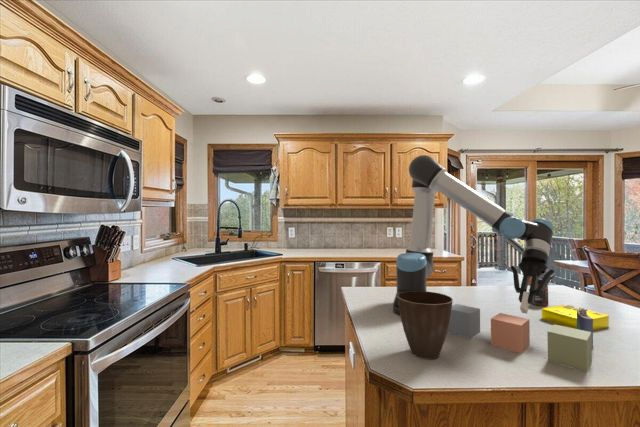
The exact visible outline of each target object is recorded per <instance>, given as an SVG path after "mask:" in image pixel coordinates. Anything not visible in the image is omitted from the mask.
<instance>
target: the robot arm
mask: <svg viewBox="0 0 640 427" xmlns="http://www.w3.org/2000/svg"><path fill="white" fill-rule="evenodd" d="M408 173H409V177H410V178H411V180H412V182H411V189H412V191H414V197H413V200H414V201H413V211H412V222H411V232H410V233H411V234H410V243H409V246H407V247H406V248H405V249H406V250H405V252H404V253H400V254H398V255H397V257H396V263H395V266H396V294H395V295H394V300H393V302H392V312H393V313H394V314H396V315H398V316H400V311H399V305H398V298H397V295H398V294H399V293H402V292H407V291H426V292H427V279H428V278H429V277H430V276H431V274H432V273H433V271H434V267H435V265H434V260H433V259H434V251H433V249H432V248H431V243H432V242H431V241H432V232H433V231H432V230H433V219H434V209H435V201H436V200H435V198H436V193H437V192H438V193H441V194H442V195H444V196H445V197H446V198H448V199H449V200H451V201H452V202H454V203H455V204H457V205H458V206H460V207H461V208H463V209H464V210H466V211H467V212H469V213H471V214H472V215H473V216H475V217H476V218H478V219H479V220H481V221H482V222H484V223H485V224H487V225H488V226H489V227H491V230H492V232H493V233H495V234H498V235H502V236H503V237H504V238H505V239H509V240H515V239H517V240H520V241H524V242H525V243H524V248H523V253H522V256H521V260H520V262H519V263H518V265H517V266H515V265H511V266H510V269H511V272H512V276H513V288H514V290H515V293H518V295H519V296H518V301H519V303H520V305H519V306H520V307H519V309H520V311H521V313H522V314H527V315H528V312H529V308H530V307H529V306H530V305H534V304H533V301H534V297H535V296H537V295H538V296H542V294H543V292H544V290H545V289H546V287H547V285H548V286H549V283H550V282H551V280H552V279H553V278H554V277H556V274H555V270H554V269H549V268H548V262H549V255H550V250H551V244H552V240H553V235H554V224H553V223H552V222H551V221H550V220H548V219H547V218H543V217H542V218H537V217H536V218H533V219H532V220H531V221H528V220H523V219H521V218H519V217H518V216H517V217H516V215H513V214H512V213H510V212H508V211H507V210H506V209H504V208H503V207H501V206H500V205H498V204H497V203H494V202H493V201H492V200H490V199H489V198H487V197H485V196H484V195H483V194H481V193H479V192H478V191H476V189H475V190H474V188H471V186H468V185H467V184H465V183H464V182H462V181H461V180H459V179H458V178H456V177H455V176H453V175H451V174H450V173H448V172H447V169H446V167H444V166H442V165H441V164H440V163H439V162H438V161H437V160H435V158H434V157H432V156H431V155H428V154H427V155H426V154H423V155H418V156H417V157H414V159H412V160H411V162H410V163H409V167H408ZM520 271H521V272H522V274H523V276H522V279H521V280H522V281H521V285H520V279H519V272H520ZM541 276H543V277H542V280H541V282H540V284H539V286H538V287H537V283H538V280H539V278H540V277H541ZM530 279H531V280H530ZM529 281H530V284H529ZM528 286H529V289H528ZM536 288H537V289H536Z"/></svg>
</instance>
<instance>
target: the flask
mask: <svg viewBox="0 0 640 427" xmlns="http://www.w3.org/2000/svg"><path fill="white" fill-rule="evenodd" d="M578 308H579V309H580V308H582V307H578ZM587 310H588V309H587V308H586V310H585V308H584V307H583V308H582V309H580V310H578V311H577V329H579V330H583V331H588V332H591V337H592V350H593V349H594V330H593V318H591V317H590V316H588V315H587V312H586V311H587Z"/></svg>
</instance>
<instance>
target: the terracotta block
mask: <svg viewBox="0 0 640 427" xmlns="http://www.w3.org/2000/svg"><path fill="white" fill-rule="evenodd" d="M530 335H531V334H530V318H527V317H526V318H525V317H520V316H516V315H511V314H508V313H507V314H506V313H503V312H502V313H501V312H500V313H498V314H496V315H494V316H493V317H491V318H490V346H494V347H498V348H500V349H504V350H508V351H512V352H515V353H518V354H523V353H524V352H525V351H526V350H527V349H528V348H529V347H530V345H531V344H530V342H531V341H530V338H531V337H530Z"/></svg>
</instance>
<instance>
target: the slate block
mask: <svg viewBox="0 0 640 427" xmlns="http://www.w3.org/2000/svg"><path fill="white" fill-rule="evenodd" d="M447 333H448V334H452V335H455V336H460V337H463V338H467V339H472V338H474V337H476V336H477V335H479V334H480V333H481V309H480V308H479V307H473V306H469V305H465V304H459V303H454V304H452V309H451V316H450V321H449V326H448V330H447Z"/></svg>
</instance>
